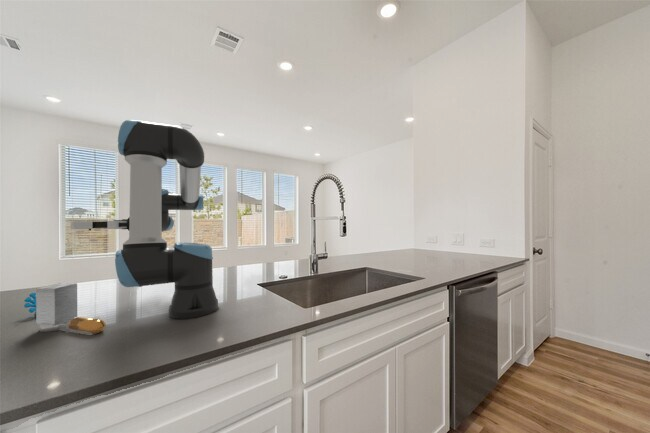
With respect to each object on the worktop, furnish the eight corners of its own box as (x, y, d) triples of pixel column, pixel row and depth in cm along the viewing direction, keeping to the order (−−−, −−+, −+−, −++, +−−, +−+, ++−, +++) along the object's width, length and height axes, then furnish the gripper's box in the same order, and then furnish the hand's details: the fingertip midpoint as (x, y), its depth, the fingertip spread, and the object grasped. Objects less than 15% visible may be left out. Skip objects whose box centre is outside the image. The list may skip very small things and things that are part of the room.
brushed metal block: (77, 316, 79) (77, 283, 79) (54, 324, 73) (54, 288, 73) (60, 315, 79) (60, 283, 79) (36, 323, 73) (36, 288, 73)
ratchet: (115, 328, 74) (115, 311, 74) (87, 339, 67) (87, 320, 67) (64, 321, 80) (64, 305, 80) (33, 330, 73) (33, 313, 73)
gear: (31, 315, 81) (21, 291, 84) (20, 328, 81) (11, 303, 84) (73, 308, 91) (64, 287, 94) (64, 319, 92) (54, 298, 95)
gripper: (169, 232, 106) (124, 236, 84) (114, 233, 108) (57, 236, 87) (169, 214, 106) (123, 213, 85) (114, 215, 108) (57, 214, 87)
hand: (89, 225), depth 86 cm, fingers open, 13 cm apart
